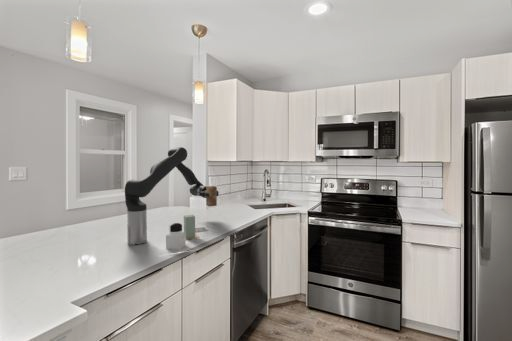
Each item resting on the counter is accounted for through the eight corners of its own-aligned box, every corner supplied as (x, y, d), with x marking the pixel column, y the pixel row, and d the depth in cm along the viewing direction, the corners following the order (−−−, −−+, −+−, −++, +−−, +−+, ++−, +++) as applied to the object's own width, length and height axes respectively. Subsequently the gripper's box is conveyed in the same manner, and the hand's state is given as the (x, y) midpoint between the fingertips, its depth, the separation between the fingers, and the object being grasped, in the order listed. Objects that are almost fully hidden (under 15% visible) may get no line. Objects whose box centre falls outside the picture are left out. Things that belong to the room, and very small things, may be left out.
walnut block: (209, 206, 159) (209, 187, 158) (206, 205, 163) (206, 186, 162) (216, 205, 161) (216, 186, 161) (213, 204, 166) (213, 185, 165)
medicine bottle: (185, 245, 131) (185, 222, 131) (179, 250, 124) (179, 225, 124) (172, 245, 132) (171, 221, 131) (165, 249, 125) (165, 225, 124)
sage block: (186, 239, 140) (186, 217, 139) (183, 236, 144) (183, 215, 144) (195, 237, 142) (195, 216, 142) (192, 235, 147) (192, 214, 146)
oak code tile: (182, 242, 137) (182, 241, 137) (178, 237, 145) (178, 236, 145) (200, 239, 141) (200, 238, 141) (195, 234, 150) (195, 233, 150)
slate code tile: (193, 234, 151) (193, 233, 151) (188, 230, 160) (188, 229, 160) (209, 231, 156) (209, 230, 156) (204, 228, 165) (204, 227, 165)
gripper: (193, 186, 170) (201, 189, 156) (214, 185, 178) (223, 188, 163) (193, 197, 171) (201, 201, 156) (214, 196, 178) (223, 200, 163)
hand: (212, 194), depth 160 cm, fingers closed on walnut block, 5 cm apart
